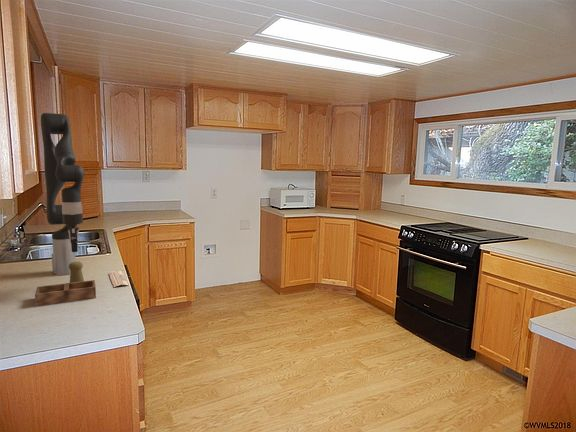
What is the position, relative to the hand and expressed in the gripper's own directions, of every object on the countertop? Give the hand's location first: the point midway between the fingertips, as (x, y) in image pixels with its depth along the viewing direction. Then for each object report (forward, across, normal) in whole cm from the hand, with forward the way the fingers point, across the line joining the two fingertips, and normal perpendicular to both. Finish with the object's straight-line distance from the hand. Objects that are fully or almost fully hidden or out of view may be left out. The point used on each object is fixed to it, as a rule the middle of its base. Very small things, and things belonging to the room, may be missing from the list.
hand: (74, 249), depth 166 cm
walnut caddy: (+16, +13, -4) cm, 21 cm away
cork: (+17, 0, 0) cm, 17 cm away
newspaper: (+17, -4, +17) cm, 25 cm away
